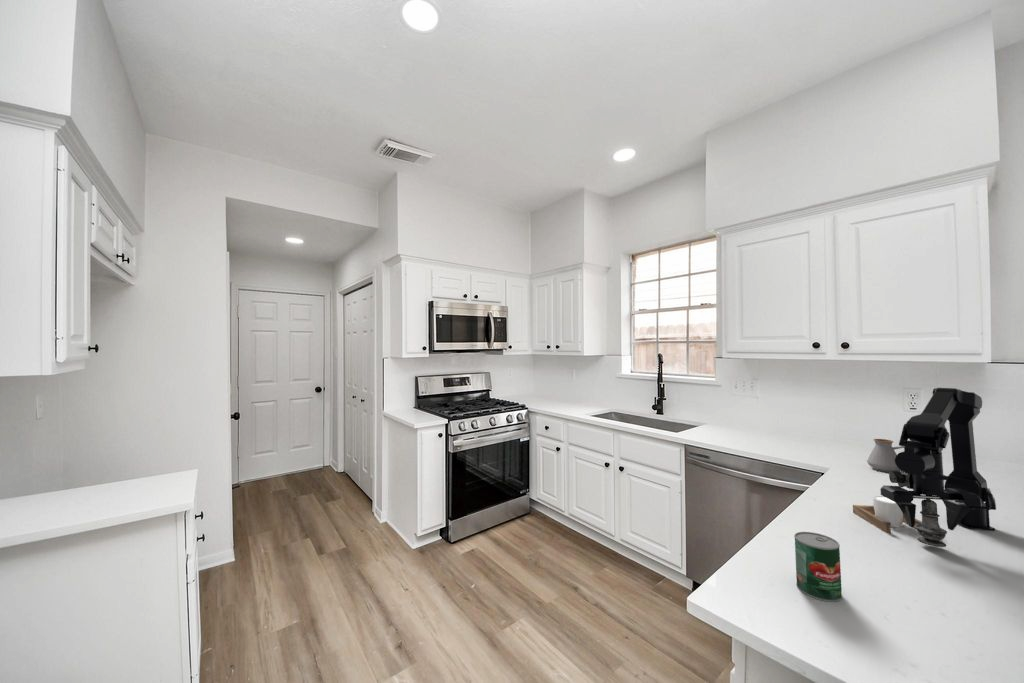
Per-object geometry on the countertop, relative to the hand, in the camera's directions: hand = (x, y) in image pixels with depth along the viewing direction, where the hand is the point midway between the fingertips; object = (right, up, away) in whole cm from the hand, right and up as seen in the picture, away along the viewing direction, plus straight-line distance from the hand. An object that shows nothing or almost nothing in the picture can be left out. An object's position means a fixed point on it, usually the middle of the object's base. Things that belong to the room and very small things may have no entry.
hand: (930, 528), depth 103 cm
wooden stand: (+3, -6, +14) cm, 16 cm away
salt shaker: (0, -4, 0) cm, 4 cm away
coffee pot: (+55, -7, +63) cm, 84 cm away
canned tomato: (-44, -5, -18) cm, 47 cm away
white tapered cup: (+4, -6, +15) cm, 16 cm away
